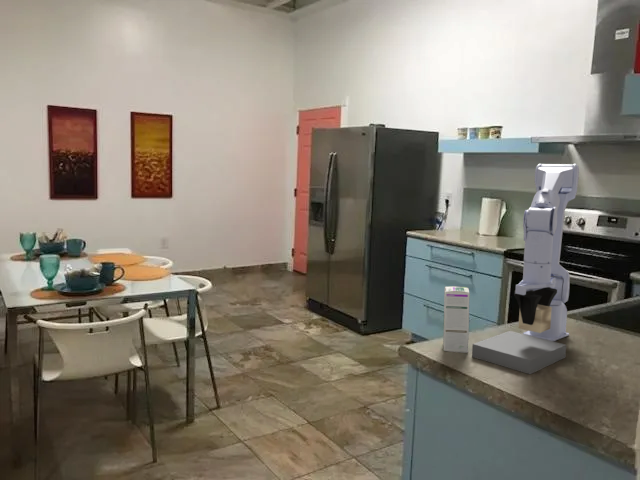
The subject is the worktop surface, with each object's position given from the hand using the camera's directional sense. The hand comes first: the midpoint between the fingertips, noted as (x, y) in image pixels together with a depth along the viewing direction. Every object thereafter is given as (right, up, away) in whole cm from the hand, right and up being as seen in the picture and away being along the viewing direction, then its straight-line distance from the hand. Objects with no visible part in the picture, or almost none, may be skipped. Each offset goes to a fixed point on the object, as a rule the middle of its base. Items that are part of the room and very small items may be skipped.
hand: (533, 321), depth 124 cm
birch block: (0, -2, 0) cm, 2 cm away
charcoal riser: (-3, -8, +1) cm, 9 cm away
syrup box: (-16, -8, +7) cm, 19 cm away
